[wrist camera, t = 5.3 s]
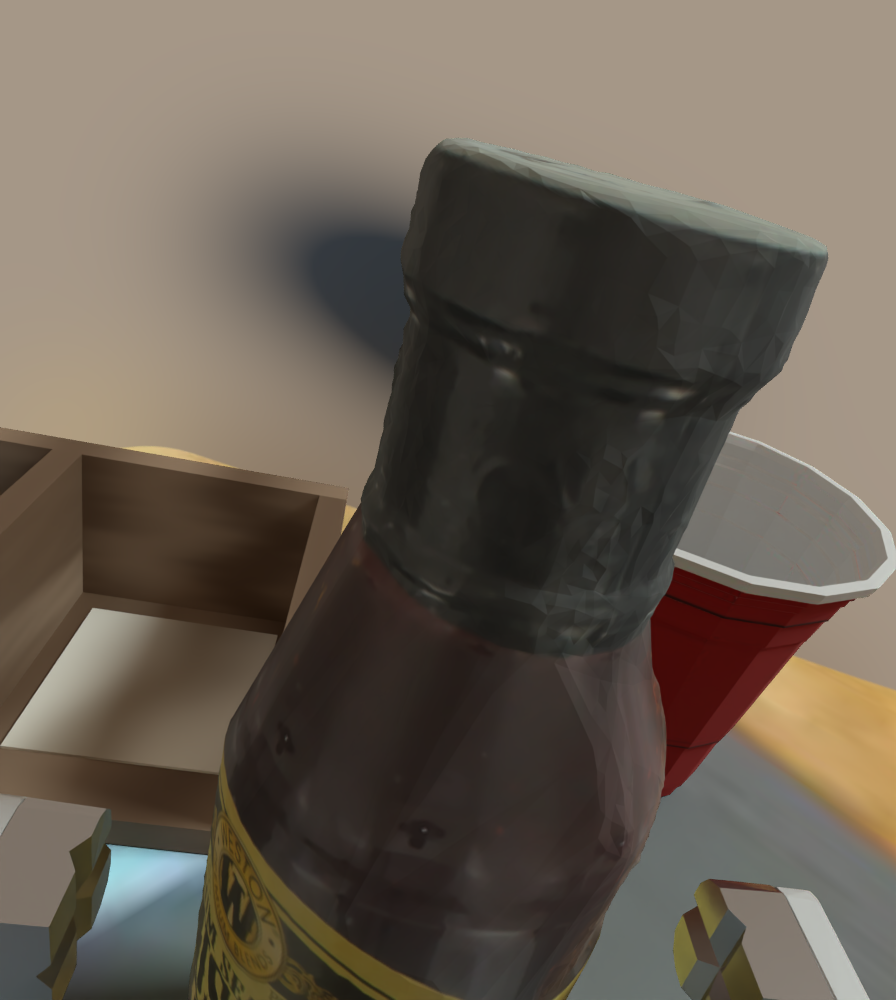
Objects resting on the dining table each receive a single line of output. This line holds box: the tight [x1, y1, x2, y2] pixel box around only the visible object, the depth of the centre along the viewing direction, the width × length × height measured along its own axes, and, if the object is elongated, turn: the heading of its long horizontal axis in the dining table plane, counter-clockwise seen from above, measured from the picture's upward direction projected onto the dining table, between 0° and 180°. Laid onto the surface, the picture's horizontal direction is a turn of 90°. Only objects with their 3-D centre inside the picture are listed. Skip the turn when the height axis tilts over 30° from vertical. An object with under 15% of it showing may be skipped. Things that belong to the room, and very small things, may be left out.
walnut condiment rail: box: [0, 427, 349, 854], centre depth 24 cm, size 20×11×7 cm, turn 92°
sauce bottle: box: [188, 138, 828, 1000], centre depth 12 cm, size 6×6×20 cm
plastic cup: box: [650, 432, 896, 797], centre depth 27 cm, size 11×11×12 cm
